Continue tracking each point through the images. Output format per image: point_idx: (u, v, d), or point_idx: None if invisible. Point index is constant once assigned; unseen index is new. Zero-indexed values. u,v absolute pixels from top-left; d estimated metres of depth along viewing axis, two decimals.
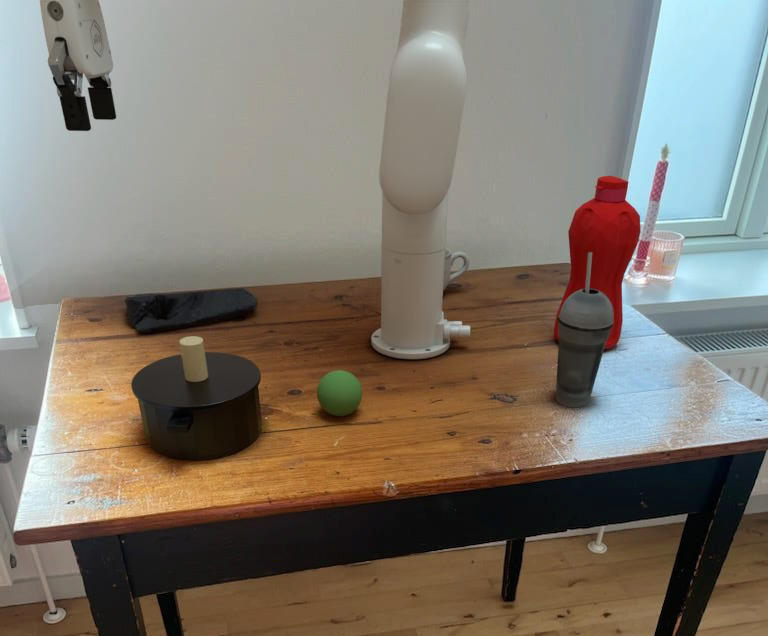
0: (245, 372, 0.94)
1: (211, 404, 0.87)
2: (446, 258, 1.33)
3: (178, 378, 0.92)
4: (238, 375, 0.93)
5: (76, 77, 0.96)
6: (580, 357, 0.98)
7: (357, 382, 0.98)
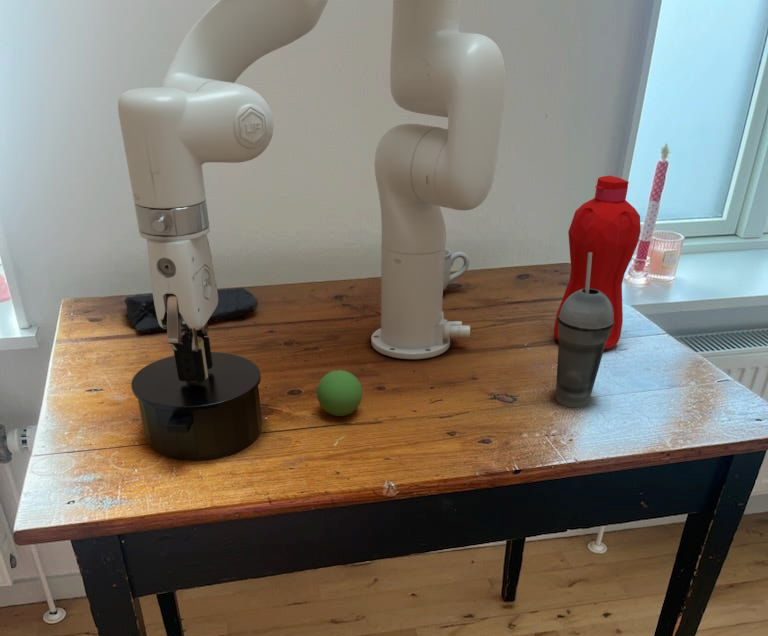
0: (245, 372, 0.94)
1: (211, 404, 0.87)
2: (446, 258, 1.33)
3: None
4: (238, 375, 0.93)
5: (192, 335, 0.86)
6: (580, 357, 0.98)
7: (357, 382, 0.98)
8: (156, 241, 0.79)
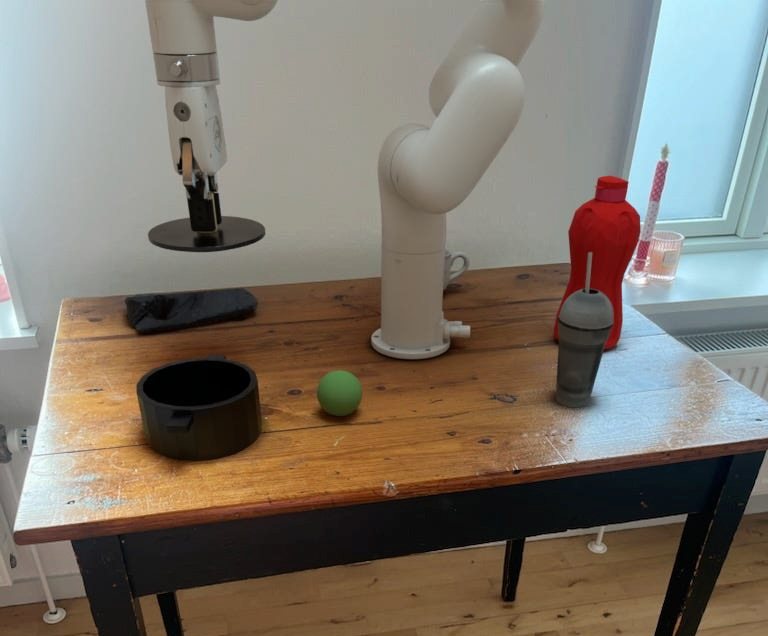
0: (251, 227, 1.03)
1: (221, 246, 0.96)
2: (446, 258, 1.33)
3: (190, 231, 1.01)
4: (245, 229, 1.02)
5: (204, 183, 0.96)
6: (580, 357, 0.98)
7: (357, 382, 0.98)
8: (173, 87, 0.89)
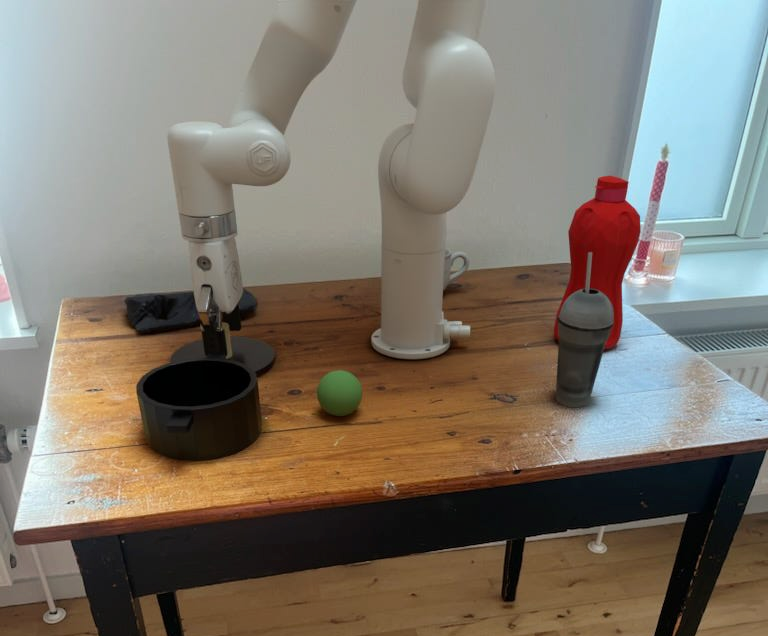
0: (262, 352, 1.15)
1: None
2: (446, 258, 1.33)
3: None
4: (257, 354, 1.14)
5: (218, 315, 1.05)
6: (580, 357, 0.98)
7: (357, 382, 0.98)
8: (196, 242, 1.00)
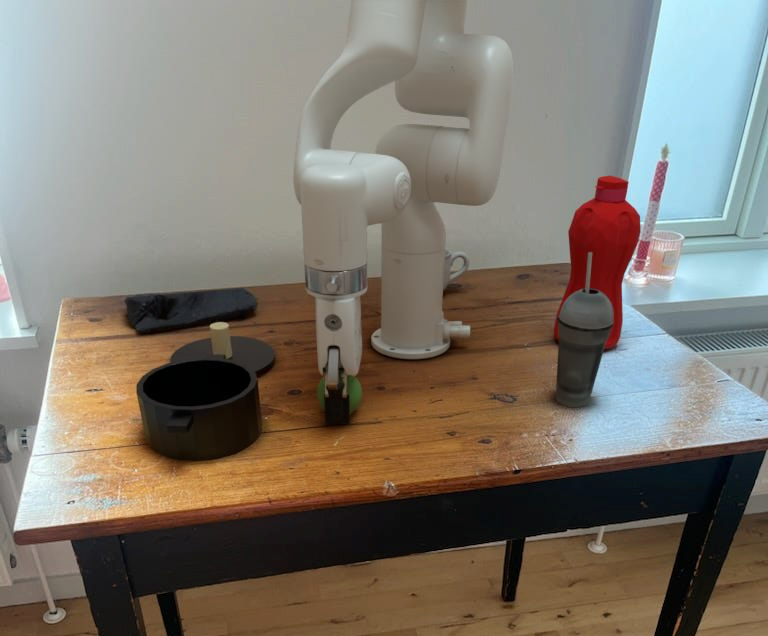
0: (262, 352, 1.15)
1: None
2: (446, 258, 1.33)
3: None
4: (257, 354, 1.14)
5: (344, 381, 0.94)
6: (580, 357, 0.98)
7: (357, 382, 0.98)
8: (325, 299, 0.88)
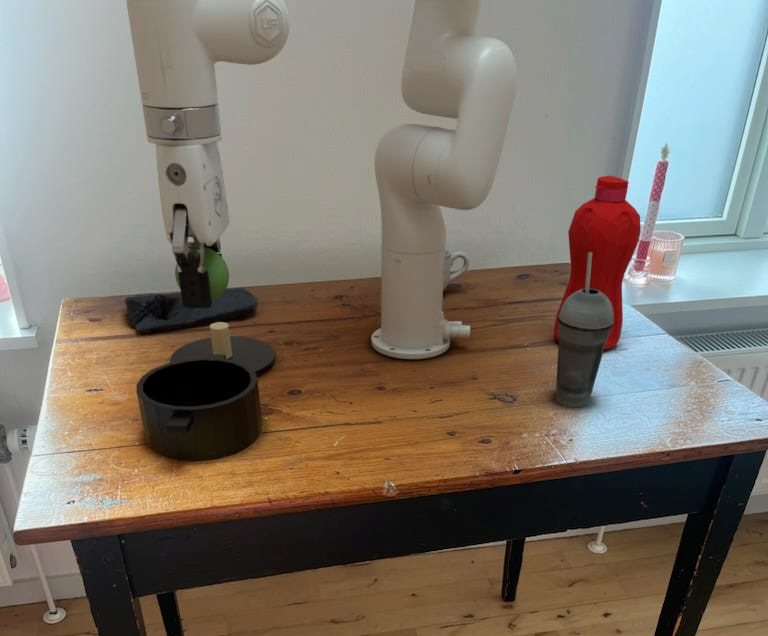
0: (262, 352, 1.15)
1: None
2: (446, 258, 1.33)
3: None
4: (257, 354, 1.14)
5: (199, 252, 0.80)
6: (580, 357, 0.98)
7: (221, 260, 0.85)
8: (165, 145, 0.75)
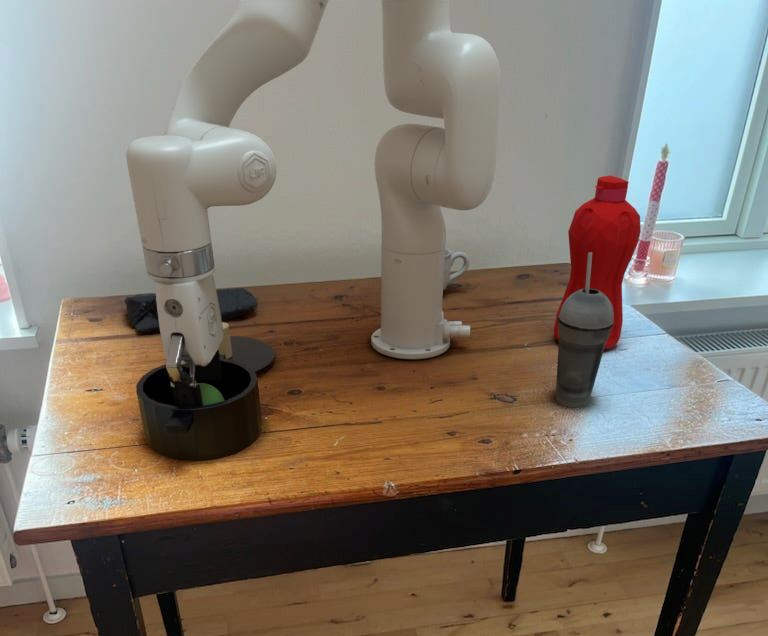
0: (262, 352, 1.15)
1: None
2: (446, 258, 1.33)
3: None
4: (257, 354, 1.14)
5: (192, 368, 0.87)
6: (580, 357, 0.98)
7: (218, 395, 0.94)
8: (163, 283, 0.82)
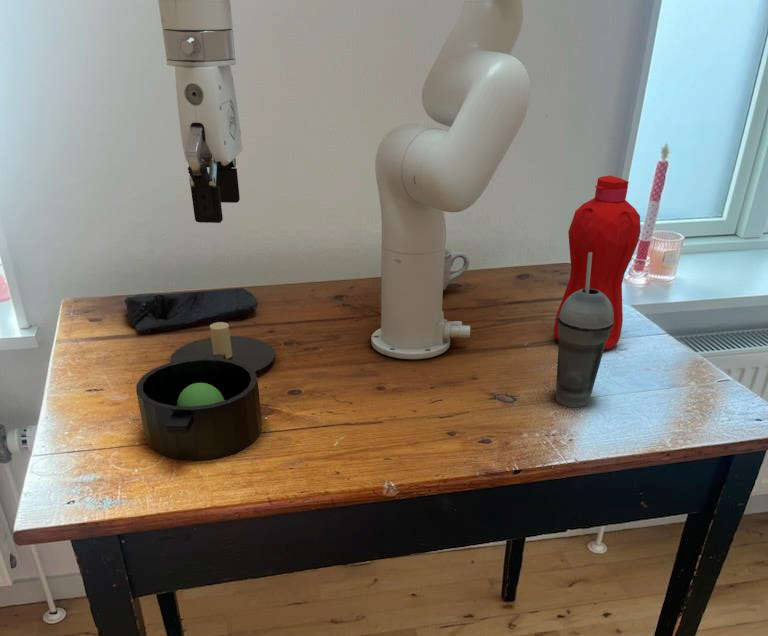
0: (262, 352, 1.15)
1: None
2: (446, 258, 1.33)
3: None
4: (257, 354, 1.14)
5: (211, 165, 0.85)
6: (580, 357, 0.98)
7: (218, 395, 0.94)
8: (184, 66, 0.80)
